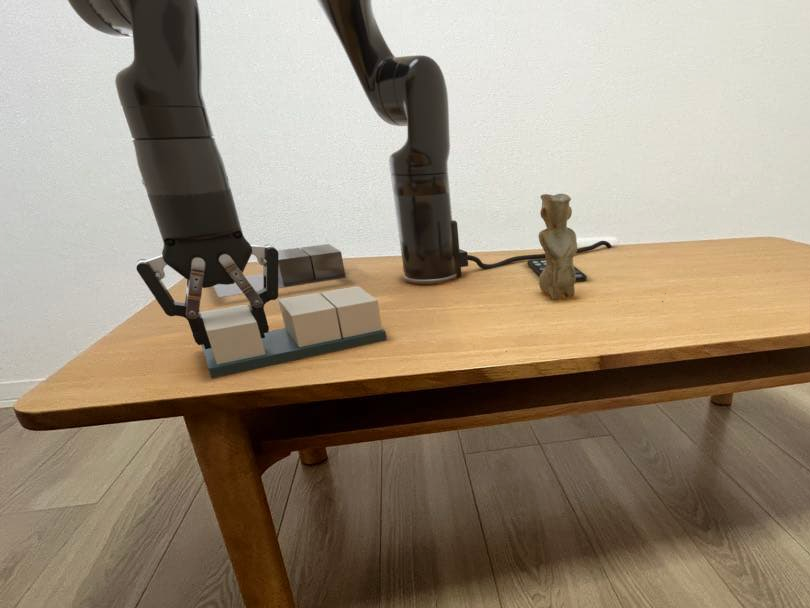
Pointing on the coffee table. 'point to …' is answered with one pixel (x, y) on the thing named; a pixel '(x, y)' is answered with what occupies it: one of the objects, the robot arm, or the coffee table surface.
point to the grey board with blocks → (297, 269)
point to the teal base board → (313, 329)
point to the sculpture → (557, 247)
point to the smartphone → (540, 264)
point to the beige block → (233, 334)
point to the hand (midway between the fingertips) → (235, 341)
